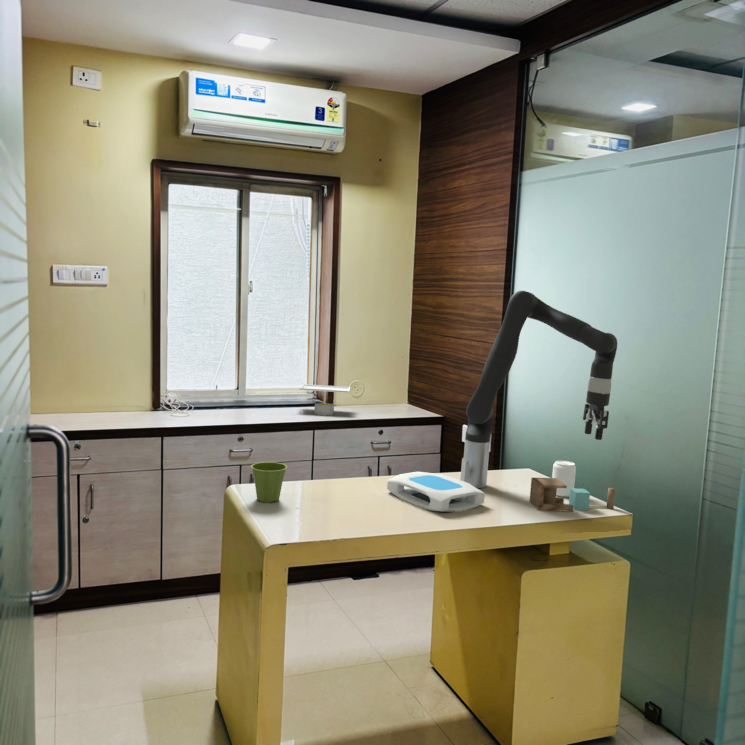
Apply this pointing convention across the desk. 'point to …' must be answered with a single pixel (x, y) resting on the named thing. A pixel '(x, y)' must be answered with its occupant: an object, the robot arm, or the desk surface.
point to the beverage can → (564, 476)
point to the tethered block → (581, 499)
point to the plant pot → (268, 480)
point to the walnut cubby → (547, 495)
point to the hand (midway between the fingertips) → (592, 436)
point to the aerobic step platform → (436, 491)
